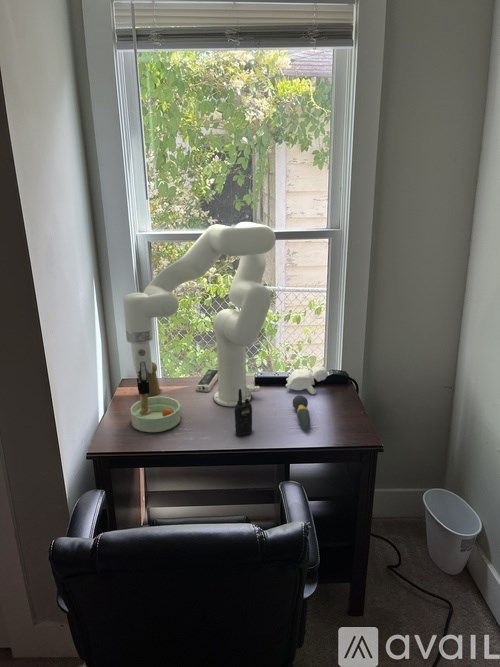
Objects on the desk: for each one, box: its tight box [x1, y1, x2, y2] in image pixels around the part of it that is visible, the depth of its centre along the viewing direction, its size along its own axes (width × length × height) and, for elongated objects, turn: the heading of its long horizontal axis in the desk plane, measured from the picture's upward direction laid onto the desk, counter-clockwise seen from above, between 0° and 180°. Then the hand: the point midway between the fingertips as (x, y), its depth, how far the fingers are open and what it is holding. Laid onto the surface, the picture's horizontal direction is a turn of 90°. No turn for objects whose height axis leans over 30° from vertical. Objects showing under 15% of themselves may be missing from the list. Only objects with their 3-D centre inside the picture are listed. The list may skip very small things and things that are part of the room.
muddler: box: [139, 375, 150, 416], centre depth 157 cm, size 3×3×13 cm
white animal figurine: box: [285, 365, 328, 395], centre depth 182 cm, size 9×8×15 cm
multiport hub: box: [196, 369, 218, 393], centre depth 188 cm, size 4×14×2 cm, turn 167°
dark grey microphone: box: [292, 394, 311, 431], centre depth 162 cm, size 20×5×5 cm, turn 7°
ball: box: [162, 409, 172, 417], centre depth 162 cm, size 3×3×3 cm
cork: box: [147, 361, 161, 397], centre depth 180 cm, size 6×6×11 cm
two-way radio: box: [234, 389, 253, 437], centre depth 152 cm, size 6×4×15 cm
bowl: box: [129, 396, 182, 433], centre depth 161 cm, size 15×15×5 cm
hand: (143, 391), depth 157 cm, fingers closed on muddler, 2 cm apart
